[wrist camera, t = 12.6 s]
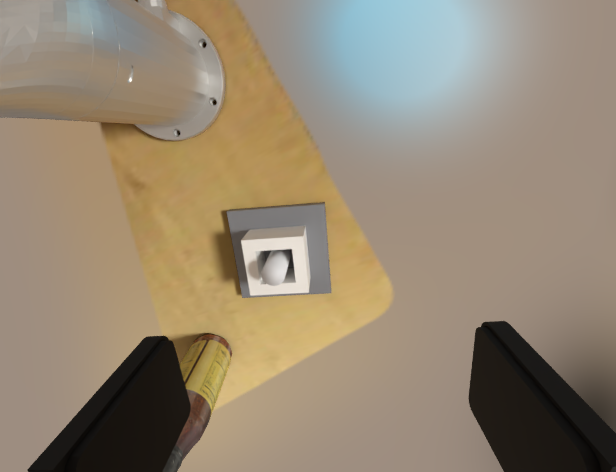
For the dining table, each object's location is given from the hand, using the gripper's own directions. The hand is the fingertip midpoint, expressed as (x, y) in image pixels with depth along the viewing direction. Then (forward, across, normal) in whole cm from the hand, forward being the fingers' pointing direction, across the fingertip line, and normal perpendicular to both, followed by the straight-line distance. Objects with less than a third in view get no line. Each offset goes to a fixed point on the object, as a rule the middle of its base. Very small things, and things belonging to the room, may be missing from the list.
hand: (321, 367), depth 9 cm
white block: (+27, +6, +7) cm, 29 cm away
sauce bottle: (+28, +18, +22) cm, 40 cm away
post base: (+28, +6, +7) cm, 30 cm away
